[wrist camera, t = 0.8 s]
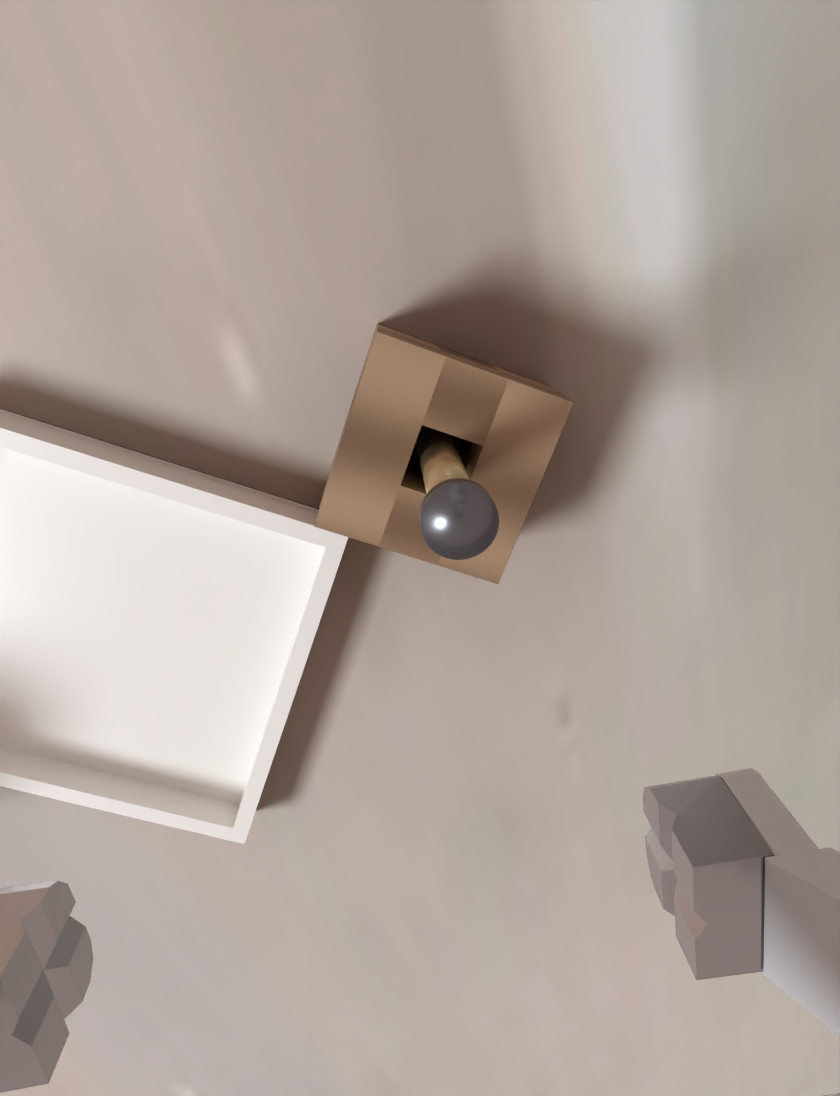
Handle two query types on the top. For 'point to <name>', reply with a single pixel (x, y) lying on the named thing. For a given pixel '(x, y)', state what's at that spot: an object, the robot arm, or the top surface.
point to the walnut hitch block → (451, 407)
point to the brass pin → (452, 501)
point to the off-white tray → (148, 629)
